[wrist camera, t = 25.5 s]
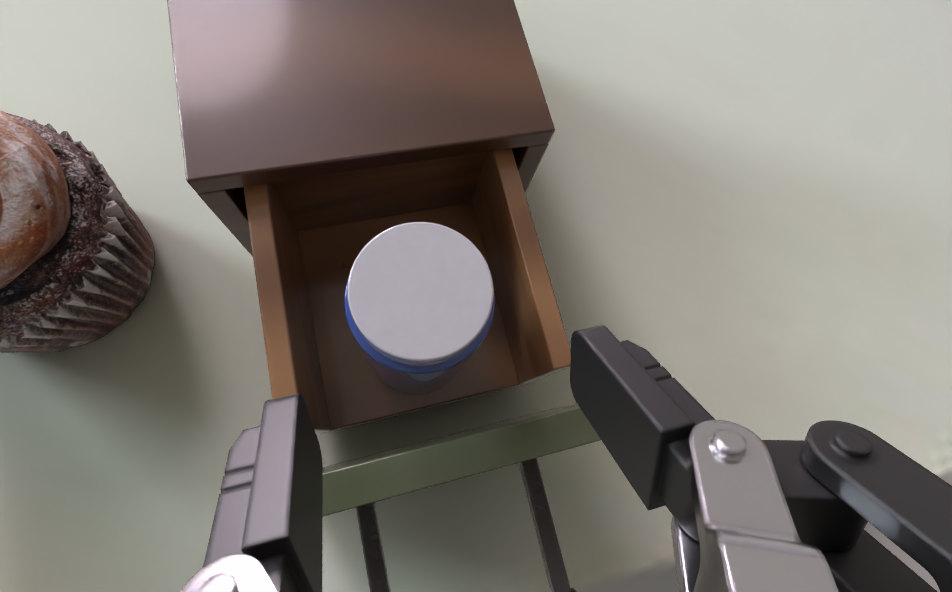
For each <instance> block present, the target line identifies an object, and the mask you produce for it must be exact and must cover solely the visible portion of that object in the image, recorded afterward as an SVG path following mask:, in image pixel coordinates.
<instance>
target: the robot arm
mask: <svg viewBox="0 0 952 592" xmlns="http://www.w3.org/2000/svg"><path fill="white" fill-rule="evenodd" d="M570 384H571V389H572V393H573V396H574V398H575V400H576V402H577V404H578V406H579V407H580V409H581V410H582V412H583V413H584V415H585V416H586V418H587V419H588V421H589V422H590V424H591V425H592V427H593V428H594V430H595V431H596V433H597V434H598V436H599V437H600V439H601V440H602V442H603V443H604V445H605V446H606V448H607V449H608V451H609V452H610V454H611V455H612V457H613V458H614V460H615V461H616V463H617V464H618V466H619V467H620V469H621V470H622V472H623V473H624V475H625V476H626V478H627V479H628V481H629V482H630V484H631V485H632V487H633V488H634V490H635V491H636V493H637V494H638V496H639V497H640V499H641V500H642V502H643V503H644V505H645V506H646V508H647V509H648V510H652V509H655V508H658V507H661V506H664V505H666V506H667V508H668V509H669V510H670V512H671V513H672V515H673V517H672V522H671V530H672V539H673V547H674V556H675V564H676V573H677V581H678V589H679V592H937V591H936V590H935V589H933V588H932V587H931V586H930V585H929V584H928V583H926V582H925V581H924V580H923V579H922V578H921V577H920V576H918V575H917V574H916V573H915V572H914V571H912V570H911V569H910V568H909V567H908V566H906V565H905V564H904V563H903V562H902V561H901V560H899V559H898V558H897V557H896V556H895V555H893V554H892V553H891V552H890V551H889V550H888V549H886V548H885V547H884V546H883V545H882V544H880V543H879V542H878V541H877V540H876V539H875V538H873V537H872V536H871V535H870V534H869V533H867V532H866V531H865V530H864V528H865V526H866V524H867V522H869V523H871V524H872V525H873V526H874V527H875V528H877V529H878V530H879V531H880V532H881V533H883V534H884V535H885V536H886V537H887V538H889V539H890V540H891V541H892V542H894V543H895V544H896V545H897V546H899V547H900V548H901V549H902V550H903V551H904V552H906V553H907V554H908V555H909V556H911V557H912V558H913V559H914V560H915V561H917V562H918V563H919V564H920V565H921V566H922V567H924V568H925V569H926V570H927V571H928V572H929V573H930V574H931V576H932V577H933V578H934V579H935V581H936V583H937V585H938V586H939V589H940V592H952V486H951V485H950V484H948V483H947V482H945V481H944V480H942V479H941V478H939V477H938V476H936V475H935V474H933V473H932V472H930V471H929V470H927V469H926V468H924V467H923V466H921V465H920V464H918V463H917V462H915V461H914V460H912V459H911V458H909V457H908V456H906V455H905V454H903V453H902V452H900V451H899V450H897V449H896V448H895V447H893V446H892V445H890V444H889V443H887V442H886V441H884V440H883V439H881V438H880V437H878V436H877V435H875V434H873V433H872V432H870V431H868V430H866V429H864V428H862V427H859V426H856V425H853V424H850V423H846V422H842V421H821V422H818V423H816V424H814V425H812V426H811V427H810V429H809V431H808V433H807V436H806V438H805V441H792V440H761V439H760V438H759V437H758V436H757V435H756V434H755V433H753V432H752V431H750V430H749V429H747V428H745V427H743V426H741V425H738V424H736V423H733V422H729V421H723V420H715V419H714V418H713V417H712V416H711V415H710V414H709V413H708V412H707V411H706V410H705V409H704V408H703V407H702V406H701V405H700V404H699V403H698V402H697V401H696V400H695V399H694V398H693V397H692V396H691V395H690V394H689V393H688V392H687V391H686V390H685V389H684V388H683V387H682V386H681V384H680V383H679V382H678V381H677V380H676V379H675V378H672V377H671V374H670V373H669V372H668V371H667V370H666V369H665V368H664V367H663V366H662V367H661V366H660V363H659V362H658V361H657V360H656V359H655V358H654V357H653V356H652V355H651V354H650V353H649V352H648V351H647V350H645V349H643V348H642V347H640V346H638V345H636V344H634V343H632V342H630V341H628V340H626V341H622V342H620V341H619V340H618V339H617V338H616V337H615V336H614V335H613V334H612V333H611V332H610V331H609V330H608V328H606V327H605V326H603V325H601V326H596V327H592V328H588V329H583V330H579V331H575V332H573V334H572V338H571V366H570ZM322 508H323V465H322V456H321V450H320V445H319V442H318V438H317V435H316V433H315V430H314V427H313V424H312V421H311V418H310V415H309V412H308V409H307V406H306V403H305V400H304V398H303V396H302V394H301V393H299V394H294V395H290V396H285V397H281V398H277V399H272V400H268V401H266V402H265V404H264V408H263V414H262V420H261V426H259V427H255V428H251V429H246V430H243V432H242V433H241V435H240V436H239V437H238V439H237V440H236V442H235V443H234V445H233V446H232V447H231V449H230V450H229V454H228V459H227V463H226V467H225V476H223V481H222V485H221V494H219V499H218V503H217V507H216V512H215V516H214V521H213V525H212V530H211V534H210V539H209V543H208V548H207V552H206V556H205V561H204V564H203V568H202V569H201V570H200V571H198V572H197V573H196V574H195V575H194V576H193V577H192V578H191V579H190V580H189V581H188V582H187V583H186V584H185V586H184V587H183V588H182V590H181V591H180V592H322Z"/></svg>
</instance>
